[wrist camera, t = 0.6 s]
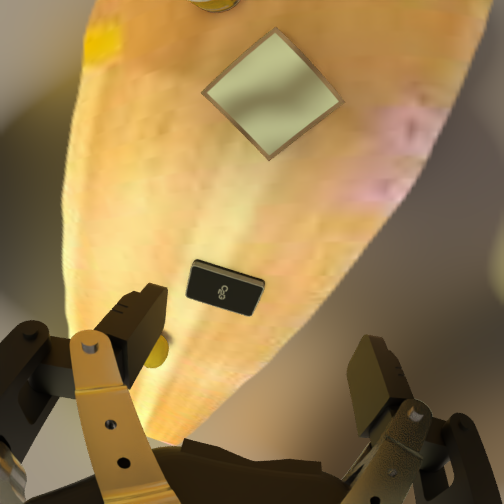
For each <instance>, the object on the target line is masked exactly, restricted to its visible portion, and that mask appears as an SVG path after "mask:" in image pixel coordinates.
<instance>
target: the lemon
mask: <svg viewBox="0 0 504 504" xmlns="http://www.w3.org/2000/svg"><path fill="white" fill-rule="evenodd" d="M168 351H169V346H168V342H167V340H166V339H165V338H164V337H163V336H162V335H160V337H159V339H158V340H157V342H156V344H155V346H154V347H153V349H152V351H151V353H150V355H149V356H148V358H147V360H146V362H145V363H144V365H145V366H146V367H147V368H157V367H159V366H161V365H162V364H163V362H164V361H165V360H166V358H167V356H168Z"/></svg>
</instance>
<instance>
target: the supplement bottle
mask: <svg viewBox="0 0 504 504" xmlns="http://www.w3.org/2000/svg"><path fill="white" fill-rule="evenodd" d="M188 1H190V2H191V3H193V4H195V5H196V6H198V7H200V8H201V9H203V10H205V11H208V12H223V11H226V10H229V9H231V8H233V7H234V6H235V5H236V4H237V3H238V2H239V1H240V0H188Z"/></svg>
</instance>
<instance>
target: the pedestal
mask: <svg viewBox="0 0 504 504" xmlns="http://www.w3.org/2000/svg"><path fill="white" fill-rule="evenodd" d="M201 94H203V95H204V96H205V97H206V98H207V99H208V100H209V101H210V102H211V103H212V104H213V105H214V106H215V107H216V108H217V109H218V110H219V111H220V112H221V113H222V114H223V115H224V116H225V117H226V118H227V119H228V120H229V121H230V122H231V123H232V124H233V125H234V126H235V127H236V128H237V129H238V130H239V131H240V132H241V133H242V134H243V135H244V136H245V137H246V138H247V139H248V140H249V141H250V142H251V143H252V144H253V145H254V146H255V147H256V148H257V149H258V150H259V151H260V152H261V153H262V154H263V155H264V156H265V157H266V159H267V160H268V161H270V160H271V159H272V158H274V157H275V156H276V155H277V154H279V153H280V152H281V151H282V150H284V149H285V148H286V147H287V146H289V145H290V144H291V143H293V142H294V141H295V140H296V139H298V138H299V137H300V136H301V135H303V134H304V133H305V132H307V131H308V130H309V129H311V128H312V127H313V126H314V125H316V124H317V123H318V122H320V121H321V120H322V119H324V118H325V117H326V116H328V115H329V114H330V113H332V112H333V111H334V110H336V109H337V108H338V107H340V106H341V105H342V104H344V103H345V101H344V100H343V99H342V97H341V96H340V95H339V94H338V92H337V91H336V90H335V89H334V88H333V87H332V85H331V84H330V83H329V82H328V81H327V80H326V78H325V77H324V76H323V75H322V74H321V73H320V72H319V70H318V69H317V68H316V67H315V66H314V65H313V64H312V63H311V62H310V61H309V59H308V58H307V57H306V56H305V55H304V54H303V53H302V52H301V51H300V50H299V49H298V48H297V47H296V46H295V45H294V44H293V43H292V42H291V41H290V40H289V39H288V38H287V37H286V36H285V35H284V34H283V33H282V32H281V31H280V30H279V29H278V28H277V27H274V28H273V29H272V30H271V31H269V32H268V33H267V34H266V35H264V36H263V37H262V38H261V39H259V40H258V41H257V42H256V43H255V44H253V45H252V46H251V47H250V48H249V49H248V50H246V51H245V52H244V53H243V54H242V55H241V56H239V57H238V58H237V59H236V60H235V61H234V62H233V63H232V64H231V65H229V66H228V67H227V68H226V69H225V70H224V71H223V72H222V73H221V74H220V75H219V76H218V77H216V78H215V79H214V80H213V81H212V82H211V83H210V84H209V85H208V86H207V87H206V88H205V89H204V90H203V91H202V92H201Z"/></svg>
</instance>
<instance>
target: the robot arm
mask: <svg viewBox="0 0 504 504" xmlns="http://www.w3.org/2000/svg"><path fill="white" fill-rule="evenodd" d="M167 295H168V289H167V288H166V287H163V286H159V285H156V284H152V283H148V284H147V285H146V286H145V288H144V289H143V290H142V291H141V292H140V293H139V292H136V291H133V292H131V293H129V294H126V295H124V296H123V297H122V298H121V299H120V300H119V301H118V303H117V304H116V305H115V306H114V307H113V308H112V310H110V312H109V313H108V314H107V315H106V316H105V317H104V318H103V319H102V321H101V322H100V323H99V324H98V325H97V326H96V327H95V329H94V330H84V331H80V332H78V333H76V334H75V335H74V336H73V337H72V338H71V339H66V338H59V337H54V336H50V334H49V330H48V328H47V326H46V325H45V324H44V323H42V322H40V321H35V320H30V321H25V322H22V323H20V324H19V325H17V326H16V327H15V328H14V329H13V330H12V331H11V332H10V333H9V334H8V335H7V336H6V337H5V338H4V339H3V340H2V342H1V343H0V504H402V503H403V501H404V499H405V497H406V495H407V493H408V491H409V489H410V487H411V485H412V483H413V487H414V493H415V499H416V504H502V501H501V497H500V493H499V490H498V487H497V484H496V481H495V478H494V474H493V471H492V468H491V465H490V463H489V460H488V457H487V454H486V451H485V449H484V446H483V444H482V441H481V438H480V436H479V433H478V431H477V429H476V426H475V424H474V422H473V421H472V420H471V419H470V418H469V417H468V416H467V415H465V414H463V413H455V414H453V415H452V416H451V417H450V418H449V419H448V420H447V421H444V420H441V419H438V418H434V417H433V415H432V412H431V410H430V408H429V407H428V406H427V405H426V404H425V403H423V402H422V401H420V400H417V399H414V397H413V394H412V392H411V389H410V387H409V384H408V382H407V379H406V377H405V376H404V372H403V370H402V369H401V368H402V367H401V365H400V363H399V360H398V359H397V357H396V356H395V355H394V354H393V353H392V352H391V351H390V350H388V349H387V346H386V344H385V341H384V339H383V338H382V337H378V336H372V335H364V336H363V337H362V339H361V341H360V343H359V345H358V347H357V349H356V350H355V352H354V355H353V356H352V358H351V360H350V362H349V364H348V368H347V380H348V384H349V389H350V394H351V399H352V404H353V409H354V414H355V420H356V425H357V431H358V436H359V437H363V438H370V441H371V442H370V443H369V444H368V445H367V446H366V448H365V449H364V450H363V452H362V453H361V455H360V456H359V457H358V459H357V460H356V462H355V463H354V464H353V466H352V467H351V468H350V470H349V471H348V473H347V474H346V475H345V476H344V477H343V479H342V480H340V479H339V478H337V477H335V476H333V475H331V474H328V473H326V472H323V471H322V469H321V462H316V461H304V460H294V459H284V460H271V461H251V460H249V459H246V458H243V457H241V456H239V455H236V454H234V453H232V452H229V451H227V450H224V449H222V448H220V447H217V446H213V445H209V444H205V443H200V442H197V441H193V440H189V439H186V438H184V441H183V444H182V447H179V446H168V447H158V448H154V449H151V447H150V445H149V442H148V440H147V438H146V435H145V433H144V431H143V428H142V426H141V423H140V421H139V418H138V415H137V413H136V410H135V407H134V405H133V402H132V399H131V396H130V393H129V391H128V389H131V387H132V385H133V383H134V381H135V379H136V378H137V376H138V374H139V372H140V370H141V369H142V367H143V365H144V363H145V362H146V360H147V358H148V356H149V355H150V353H151V351H152V349H153V347H154V346H155V344H156V342H157V340H158V339H159V337H160V335H161V333H162V331H163V328H164V324H165V317H166V305H167ZM59 397H65V398H71V399H76V402H77V407H78V412H79V417H80V421H81V426H82V430H83V434H84V438H85V442H86V446H87V450H88V453H89V457H90V460H91V464H92V467H93V470H94V473H95V474H94V475H92V476H90V477H87V478H85V479H82V480H80V481H77V482H75V483H72V484H70V485H67V486H64V487H61V488H59V489H56V490H53V491H50V492H48V493H45V494H42V495H39V496H36V497H33V498H31V499H29V500H27V501H26V498H25V493H24V492H25V486H26V482H27V476H26V472H25V470H24V468H23V466H22V465H21V463H22V462H23V460H24V458H25V456H26V454H27V452H28V450H29V449H30V447H31V445H32V443H33V441H34V440H35V438H36V436H37V434H38V433H39V431H40V429H41V427H42V426H43V424H44V422H45V421H46V419H47V417H48V416H49V414H50V412H51V411H52V409H53V407H54V406H55V404H56V402H57V401H58V399H59ZM449 461H451V464H452V468H453V472H454V481H453V483H452V485H451V486H450V487H449V485H448V481H447V477H446V473H445V469H444V465H445V464H446V463H447V462H449Z"/></svg>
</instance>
